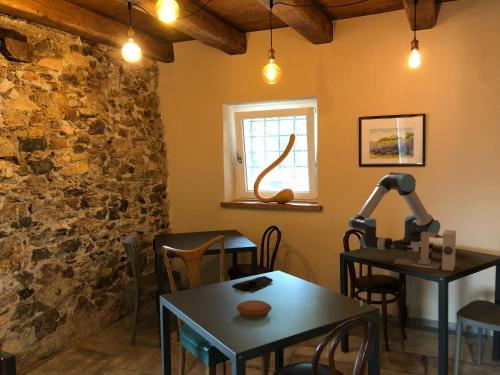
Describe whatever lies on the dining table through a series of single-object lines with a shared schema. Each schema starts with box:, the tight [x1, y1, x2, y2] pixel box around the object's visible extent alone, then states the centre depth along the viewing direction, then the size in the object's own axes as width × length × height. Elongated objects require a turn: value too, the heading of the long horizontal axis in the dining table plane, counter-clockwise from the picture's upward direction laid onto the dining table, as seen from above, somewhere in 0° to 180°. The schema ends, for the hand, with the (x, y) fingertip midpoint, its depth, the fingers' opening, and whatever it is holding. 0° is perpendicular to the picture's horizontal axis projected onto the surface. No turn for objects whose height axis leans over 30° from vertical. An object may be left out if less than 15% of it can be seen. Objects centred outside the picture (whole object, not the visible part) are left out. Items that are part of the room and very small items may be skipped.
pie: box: [235, 299, 273, 320], centre depth 192 cm, size 16×16×5 cm
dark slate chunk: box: [231, 275, 274, 294], centre depth 233 cm, size 15×22×5 cm
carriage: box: [417, 232, 436, 265], centre depth 269 cm, size 7×9×19 cm
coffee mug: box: [417, 241, 434, 260], centre depth 290 cm, size 12×9×10 cm
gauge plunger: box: [435, 233, 443, 239], centre depth 264 cm, size 3×10×3 cm, turn 60°
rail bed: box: [393, 258, 442, 270], centre depth 273 cm, size 11×26×1 cm, turn 60°
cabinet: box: [441, 229, 457, 272], centre depth 263 cm, size 13×6×22 cm, turn 150°
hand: (420, 247), depth 271 cm, fingers open, 13 cm apart
